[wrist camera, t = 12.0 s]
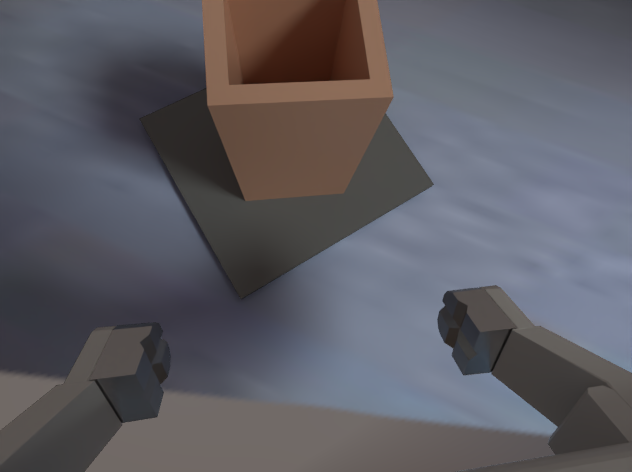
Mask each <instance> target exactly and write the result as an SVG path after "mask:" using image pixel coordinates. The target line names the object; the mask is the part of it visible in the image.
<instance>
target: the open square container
mask: <svg viewBox="0 0 632 472" xmlns="http://www.w3.org/2000/svg"><path fill="white" fill-rule="evenodd" d="M202 9H203V28H204V47H205V67H206V86H207V105H208V108H209V111H210V113H211V116H212V118H213V121H214V123H215V126H216V128H217V131H218V133H219V136H220V138H221V141H222V143H223V146H224V148H225V151H226V153H227V156H228V158H229V161H230V163H231V166H232V168H233V171H234V174H235V176H236V179H237V181H238V184H239V186H240V189H241V191H242V194H243V196H244V199H245V201H252V200H265V199H278V198H291V197H304V196H317V195H330V194H343V193H344V192H345V190H346V188H347V186H348V184H349V182H350V180H351V178H352V176H353V174H354V172H355V171H356V169H357V167H358V165H359V163H360V161H361V159H362V157H363V155H364V153H365V151H366V149H367V147H368V145H369V143H370V142H371V140H372V138H373V136H374V134H375V132H376V130H377V128H378V126H379V124H380V122H381V120H382V118H383V116H384V115H385V113H386V111H387V109H388V107H389V105H390V103H391V101H392V99H393V91H392V85H391V79H390V73H389V68H388V62H387V56H386V50H385V44H384V38H383V32H382V27H381V21H380V15H379V9H378V3H377V0H202Z"/></svg>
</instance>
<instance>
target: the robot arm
mask: <svg viewBox="0 0 632 472" xmlns="http://www.w3.org/2000/svg"><path fill="white" fill-rule="evenodd" d="M442 301H443V303H444V304H445V307H444V308H442V309H441V310H440V311H439V315H438V319H437V320H438V329H439V332H440V335H441V337H442V339H443V341H444V343H446V344H447V345H449V346H450V347H452V348H453V352H452V357H453V358H454V360H455V362H456V364H457V365H458V367H459V369H460V371H461V372H462V374H463V375H471V374H481V373H490V372H492V375H493V376H495V377H496V378H497V379H498V380H500V381H501V382H502V383H504V384H505V385H506V386H507V387H509V388H510V389H511V390H512V391H514V392H515V393H516V394H517V395H519V396H520V397H521V398H522V399H524V400H525V401H526V402H527V403H529V404H530V405H531V406H532V407H534V408H535V409H536V410H537V411H539V412H540V413H541V414H542V415H544V416H545V417H546V418H548V419H549V420H550V421H551V422H553V423H554V424H555V425H556V426H558V428H557V429H556V430H555V432H554V433H553V434H552V436H551V437H550V438H549V442H548V445H549V446H550V448H551V449H552V451H553V452H554V454H555V455H551V456H545V457H539V458H533V459H527V460H521V461H516V462H510V463H504V464H498V465H492V466H487V467H480V468H475V469H468V470H463V471H457V472H632V373H631V372H629V371H627V370H625V369H623V368H621V367H619V366H617V365H615V364H613V363H611V362H609V361H607V360H605V359H603V358H601V357H599V356H598V355H596V354H594V353H592V352H590V351H588V350H586V349H584V348H582V347H580V346H578V345H576V344H574V343H572V342H570V341H568V340H566V339H565V338H563V337H561V336H559V335H557V334H555V333H553V332H551V331H549V330H547V329H545V328H543V327H541V326H534V325H533V323H532V322H531V321H530V320H529V319H528V318H527V317H526V316H525V314H524V313H523V312H522V311H521V310H520V309H519V308H518V307H517V306H516V304H515V303H514V302H513V301H512V300H511V299H510V298H509V297H508V295H507V294H506V293H505V292H504V291H503V290H502V289H501V288H500V287H498V286H496V285H495V286H486V287H479V288H469V289H460V290H452V291H447V292H446V293H445V294H444V297H443V300H442ZM162 333H163V330H162V328H161V326H160V324H159V323H157V322H153V323H141V324H129V325H117V326H109V327H97V328H96V329H95V330H93V331H92V332H91V334H90V336H89V338H88V340H87V341H86V343H85V345H84V347H83V349H82V351H81V353H80V354H79V356H78V358H77V360H76V362H75V364H74V365H73V367H72V369H71V371H70V373H69V375H68V377H67V378H66V380H65V382H64V384H61V385H56V386H55V387H54V388H53V389H51V390H50V391H49V392H48V393H46V394H45V395H44V396H43V397H41V398H40V399H39V400H38V401H36V402H35V403H34V404H33V405H32V406H30V407H29V408H28V409H27V410H25V411H24V412H23V413H22V414H20V415H19V416H18V417H17V418H15V419H14V420H13V421H12V422H11V423H9V424H8V425H7V426H5V427H4V428H3V429H2V430H1V431H0V472H85V470H86V469H87V468H88V467H89V465H90V464H91V463H92V462H93V461H94V459H95V458H96V457H97V456H98V454H99V453H100V452H101V451H102V449H103V448H104V447H105V446H106V444H107V443H108V442H109V441H110V440H111V438H112V437H113V436H114V435H115V433H116V432H117V431H118V430H119V428H120V427H121V426H122V423H125V422H131V421H136V420H143V419H148V418H155V417H157V416H158V412H159V408H160V405H161V401H162V397H163V393H164V392H163V390H162V387H161V383H162V382H163V381H164V380H165V379H166V378H167V377H168V374H169V369H170V358H171V355H170V349H169V346H168V343H167V342H166V341H164V340H163V339H161V336H162Z"/></svg>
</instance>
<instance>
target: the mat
mask: <svg viewBox="0 0 632 472" xmlns="http://www.w3.org/2000/svg"><path fill="white" fill-rule="evenodd" d="M140 121H141V123H142V124H143V126H144V128H145V130H146V132H147V133H148V135H149V137H150V139H151V140H152V142H153V144H154V146H155V148H156V149H157V151H158V153H159V155H160V156H161V158H162V160H163V162H164V164H165V165H166V167H167V169H168V171H169V172H170V174H171V176H172V178H173V180H174V181H175V183H176V185H177V187H178V188H179V190H180V192H181V194H182V196H183V197H184V199H185V201H186V203H187V204H188V206H189V208H190V210H191V212H192V213H193V215H194V217H195V219H196V220H197V222H198V224H199V226H200V228H201V229H202V231H203V233H204V235H205V236H206V238H207V240H208V242H209V244H210V245H211V247H212V249H213V251H214V253H215V254H216V256H217V258H218V260H219V261H220V263H221V265H222V267H223V269H224V270H225V272H226V274H227V276H228V277H229V279H230V281H231V283H232V285H233V286H234V288H235V290H236V292H237V293H238V295H239V297H240V299H242V298H244V297H246V296H247V295H249V294H251V293H252V292H254V291H256V290H258V289H259V288H261V287H263V286H264V285H266V284H268V283H269V282H271V281H273V280H274V279H276V278H278V277H279V276H281V275H283V274H285V273H286V272H288V271H290V270H291V269H293V268H295V267H296V266H298V265H300V264H301V263H303V262H305V261H306V260H308V259H310V258H312V257H313V256H315V255H317V254H318V253H320V252H322V251H323V250H325V249H327V248H328V247H330V246H332V245H333V244H335V243H337V242H338V241H340V240H342V239H344V238H345V237H347V236H349V235H350V234H352V233H354V232H355V231H357V230H359V229H360V228H362V227H364V226H365V225H367V224H369V223H371V222H372V221H374V220H376V219H377V218H379V217H381V216H382V215H384V214H386V213H387V212H389V211H391V210H392V209H394V208H396V207H398V206H399V205H401V204H403V203H404V202H406V201H408V200H409V199H411V198H413V197H414V196H416V195H418V194H419V193H421V192H423V191H425V190H426V189H428V188H430V187H431V186H432V185H434V184H433V182H432V181H431V179H430V178H429V177H428V175H427V174H426V172H425V171H424V169H423V168H422V166H421V165H420V163H419V162H418V160H417V159H416V157H415V156H414V155H413V153H412V152H411V150H410V149H409V147H408V146H407V144H406V143H405V141H404V140H403V138H402V137H401V135H400V134H399V133H398V131H397V130H396V128H395V127H394V125H393V124H392V122H391V121H390V119H389V118H388V116H387V115H386V113H385V115H384V116H383V118H382V120H381V122H380V124H379V126H378V128H377V130H376V132H375V134H374V136H373V138H372V140H371V142H370V143H369V145H368V147H367V149H366V151H365V153H364V155H363V157H362V159H361V161H360V163H359V165H358V167H357V169H356V171H355V172H354V174H353V176H352V178H351V180H350V182H349V184H348V186H347V188H346V190H345V192H344V193H343V194H330V195H317V196H304V197H291V198H278V199H265V200H252V201H245V199H244V196H243V194H242V191H241V189H240V186H239V184H238V181H237V179H236V176H235V174H234V171H233V168H232V166H231V163H230V161H229V158H228V156H227V153H226V151H225V148H224V146H223V143H222V141H221V138H220V136H219V133H218V131H217V128H216V126H215V123H214V121H213V118H212V116H211V113H210V111H209V108H208V105H207V88H205V89H203V90H201V91H199V92H197V93H195V94H192V95H190V96H188V97H186V98H184V99H181V100H179V101H177V102H175V103H173V104H170V105H168V106H166V107H164V108H162V109H160V110H157V111H155V112H153V113H151V114H149V115H146V116H144V117H142V118H140Z"/></svg>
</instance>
